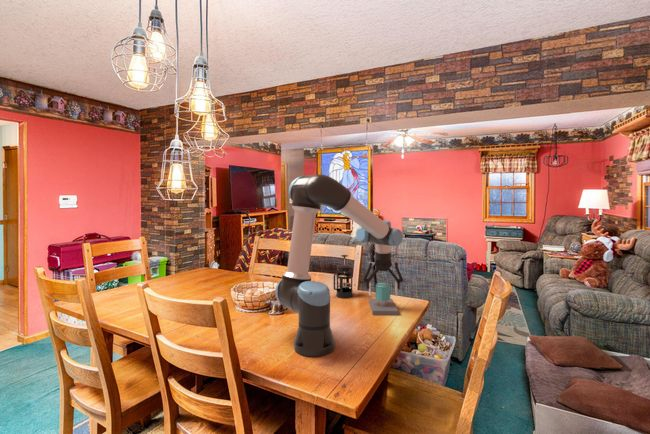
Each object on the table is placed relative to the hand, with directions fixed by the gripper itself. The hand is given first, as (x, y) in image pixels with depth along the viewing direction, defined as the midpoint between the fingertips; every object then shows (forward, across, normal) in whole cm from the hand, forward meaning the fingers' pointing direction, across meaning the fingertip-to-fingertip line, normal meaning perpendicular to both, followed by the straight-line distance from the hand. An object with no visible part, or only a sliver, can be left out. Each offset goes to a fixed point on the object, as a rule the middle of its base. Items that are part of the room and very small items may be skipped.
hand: (382, 295), depth 161 cm
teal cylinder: (+2, 0, 0) cm, 2 cm away
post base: (+7, 0, 0) cm, 7 cm away
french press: (+7, +19, -20) cm, 28 cm away
